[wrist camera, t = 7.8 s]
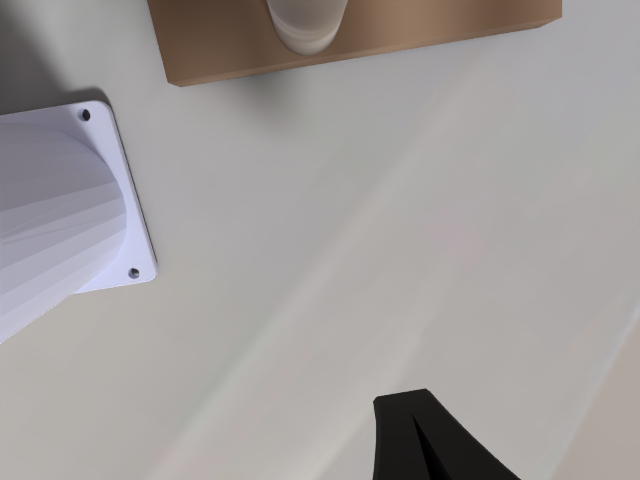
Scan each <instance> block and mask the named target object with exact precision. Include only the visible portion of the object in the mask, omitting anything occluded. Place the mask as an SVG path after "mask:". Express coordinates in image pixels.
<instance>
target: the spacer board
mask: <svg viewBox="0 0 640 480" xmlns="http://www.w3.org/2000/svg"><path fill="white" fill-rule="evenodd" d="M147 1H148V5H149V9H150V13H151V17H152V21H153V25H154V29H155V33H156V37H157V41H158V45H159V49H160V53H161V57H162V61H163V65H164V69H165V73H166V77H167V81H168V83H171V84H173V85H176V86H179V87H184V86H190V85H196V84H202V83H208V82H214V81H220V80H226V79H232V78H238V77H244V76H250V75H256V74H262V73H268V72H274V71H280V70H286V69H292V68H298V67H304V66H310V65H316V64H322V63H328V62H334V61H340V60H346V59H352V58H358V57H364V56H370V55H377V54H383V53H389V52H395V51H401V50H407V49H413V48H419V47H425V46H431V45H437V44H443V43H449V42H455V41H461V40H467V39H473V38H479V37H485V36H491V35H497V34H503V33H509V32H515V31H521V30H527V29H533V28H539V27H541V26H543V25H545V24H548V23H550V22H552V21H554V20H557V19H559V18H561V17H562V0H147Z"/></svg>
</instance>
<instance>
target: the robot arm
mask: <svg viewBox="0 0 640 480" xmlns="http://www.w3.org/2000/svg"><path fill="white" fill-rule="evenodd" d="M85 109H87V110H88V111H89V113H90V119H89V121H86V120H84V118H83V114H82V113H83V111H84V110H85ZM132 268H135V269H137V270H138V271H139V275H140V276H136V275H134V274H133V273H132ZM157 273H158V266H157V263H156V259H155V256H154V252H153V249H152V246H151V242H150V239H149V235H148V232H147V229H146V225H145V222H144V218H143V215H142V212H141V208H140V205H139V201H138V198H137V195H136V191H135V188H134V184H133V181H132V178H131V174H130V171H129V167H128V164H127V161H126V157H125V154H124V150H123V147H122V144H121V140H120V137H119V133H118V130H117V127H116V123H115V120H114V116H113V113H112V110H111V108H110V107H109V106H108V105H107V104H106V103H105V102H102V101H98V100H91V101H85V102H79V103H73V104H67V105H61V106H55V107H49V108H43V109H37V110H31V111H24V112H18V113H12V114H6V115H0V344H1V343H2V342H4V341H5V340H7V339H8V338H9V337H11V336H12V335H14V334H15V333H17V332H18V331H19V330H21V329H22V328H24V327H25V326H27V325H28V324H29V323H31V322H32V321H34V320H35V319H37V318H38V317H39V316H41V315H42V314H44V313H45V312H47V311H48V310H49V309H51V308H52V307H54V306H55V305H57V304H58V303H59V302H61V301H62V300H64V299H65V298H67V297H68V296H70V295H71V294H75V293H81V292H87V291H93V290H99V289H105V288H111V287H117V286H123V285H129V284H136V283H142V282H148V281H150V280H152V279H153V278H154V277H155V276H156V275H157ZM373 404H374V411H375V418H376V449H375V462H374V473H373V480H521V479H520V478H518V477H517V476H516V475H515V474H514V473H512V472H511V471H510V470H509V469H508V468H507V467H506V466H504V465H503V464H502V463H501V462H500V461H499V460H498V459H497V458H495V457H494V456H493V455H492V454H491V453H490V452H489V451H488V450H487V449H486V448H485V447H484V446H483V445H481V444H480V443H479V442H478V441H477V440H476V439H475V438H474V437H473V436H472V435H471V434H470V433H469V432H468V431H467V430H466V429H465V428H464V427H463V426H462V425H461V424H460V423H459V422H458V421H457V420H456V419H455V418H454V417H453V416H452V415H451V414H450V413H449V412H448V411H447V410H446V409H445V408H444V407H443V405H442V404H441V403H440V402H439V401H438V400H437V399H436V398H435V397H434V395H433V394H432V393H431V392H430V391H428V390H427V389H420V390H414V391H408V392H402V393H396V394H390V395H384V396H378V397H376V398H375V400H374V401H373Z"/></svg>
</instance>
